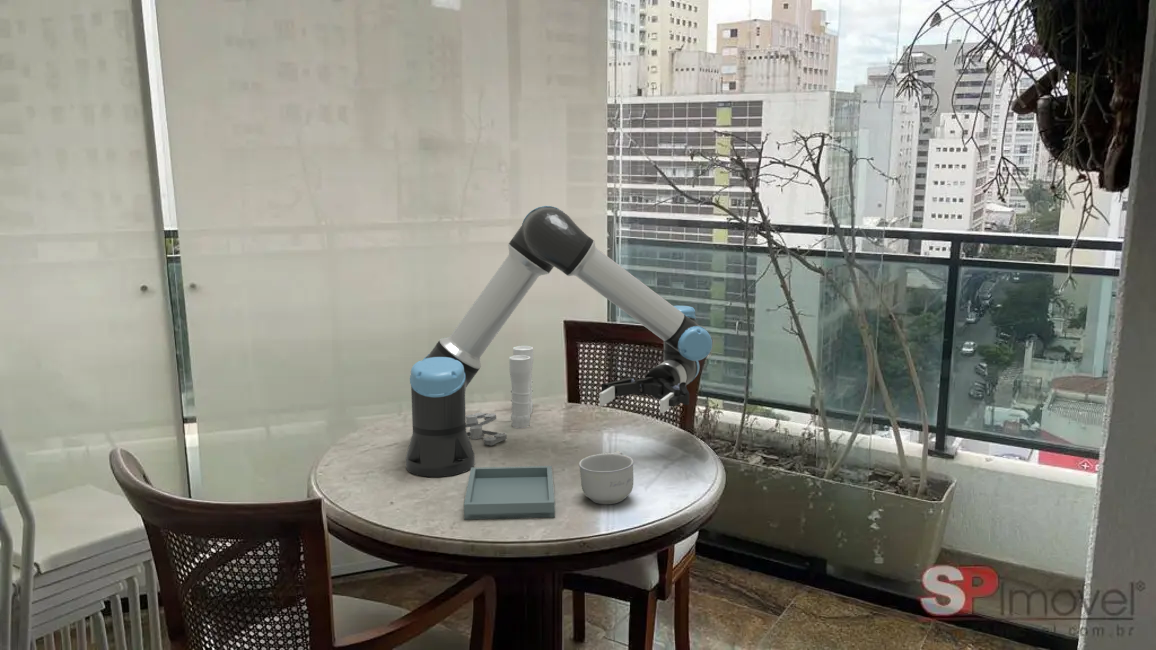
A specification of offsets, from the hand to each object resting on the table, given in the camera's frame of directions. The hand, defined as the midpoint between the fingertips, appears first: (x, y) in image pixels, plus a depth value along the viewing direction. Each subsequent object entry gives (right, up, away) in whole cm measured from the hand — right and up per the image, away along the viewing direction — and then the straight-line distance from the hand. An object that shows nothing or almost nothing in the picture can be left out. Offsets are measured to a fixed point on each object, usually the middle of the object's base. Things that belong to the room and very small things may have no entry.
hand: (630, 403), depth 174 cm
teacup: (-5, -18, -6) cm, 20 cm away
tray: (-24, -18, -7) cm, 31 cm away
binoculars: (-26, -9, +47) cm, 55 cm away
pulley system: (-38, -11, +37) cm, 54 cm away
